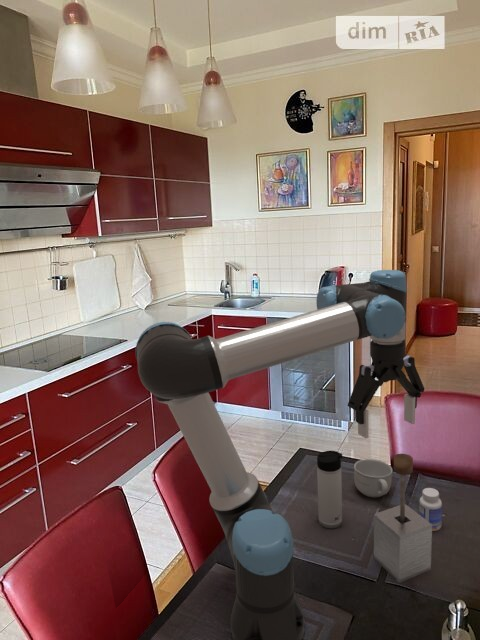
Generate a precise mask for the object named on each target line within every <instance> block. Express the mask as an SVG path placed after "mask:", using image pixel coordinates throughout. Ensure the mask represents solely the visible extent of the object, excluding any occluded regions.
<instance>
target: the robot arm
mask: <svg viewBox="0 0 480 640" xmlns="http://www.w3.org/2000/svg"><path fill="white" fill-rule="evenodd" d="M407 289H408V288H407V275H406V273H405V272H403V271H402V270H398V269H380V270H374V271H372V272H370V275H369V279H368V281H366V282H365V281H364V282H360V283H359V282H358V283H345V284H333V285H329V286H323V287H321V288H320V289H319V290H318V292H317V293H316V310H312V311H308V312H305V313H302V314H299V315H294V316H292V317H288V318H285V319H280V320H278V321H274V322H271V323H267V324H264V325H260V326H257V327H254V328H250V329H247V330H244V331H240V332H236V333H233V334H230V335H227V336H224V337H220V338H214V337H213V336H210V335H206V336H203V337H199V338H194V339H193V338H192V336H191V335H190V332H188V331H187V329H185V328H184V327H182V326H181V325H180V324H177V323H175V322H170V321H160V322H156V323H154V324H151V325H150V326H148V327H147V328H145V329H144V330H143V331H142V333H141V334H140V335H139V338H138V340H137V342H136V345H135V350H134V351H135V353H134V354H135V359H136V361H137V373H138V377H139V379H140V382H141V384H142V385H143V387H144V388H145V390H147V391H149V393H151V394H152V395H153V397H154V398H155V399H156V401H157V402H158V403H161V404H165V405H167V406H168V409H169V410H170V412H171V414H172V415H173V418H174V419H175V422H176V424H177V426H178V428H179V429H180V432H181V434H182V436H183V437H184V440H185V441H186V443H187V446H188V448H189V450H190V451H191V453H192V456H193V457H194V459H195V461H196V463H197V465H198V467H199V468H200V471H201V473H202V475H203V477H204V479H205V481H206V482H207V485H208V486H209V489H210V491H211V492H210V495H209V499H208V500H209V504H210V506H211V508H212V510H213V512H214V514H215V516H216V518H217V520H218V522H219V524H220V525H221V528H222V530H223V532H224V536H225V539H226V542H227V545H228V548H229V551H230V555H231V558H232V561H233V564H234V565H233V566H234V572H235V574H234V575H235V586H236V587H235V588H236V596H235V599H234V603H233V607H232V609H231V612H230V613H231V614H230V617H229V618H230V621H229V622H230V632H231V633H232V634H231V637H232V639H233V640H302V639H303V638H304V636H305V635H304V634H305V628H306V627H305V615H304V611H303V608H302V606H301V604H300V602H299V599H298V597H297V594H296V592H295V579H294V578H295V577H294V576H295V573H294V538H293V535H292V529H291V528H290V525H289V523H288V521H287V520H286V519H285V518H284V517H283V516H282V515H280V514H279V513H275V512H274V510H273V508H272V507H271V505H270V503H269V500H268V497H267V495H266V493H265V492H264V490H263V488H262V486H261V483H260V481H259V479H258V478H257V476H256V475H255V474H254V473H253V472H248V471H247V470H246V467H245V466H244V464H243V462H242V459H241V457H240V456H239V454H238V451H237V450H236V447H235V445H234V443H233V441H232V439H231V437H230V434H229V432H228V430H227V428H226V426H225V424H224V422H223V419H222V418H221V415H220V414H219V411H218V409H217V407H216V406H215V404H214V401H213V399H212V396H211V394H210V393H211V392H214V391H216V390H217V391H218V390H220V389H224V388H225V387H226V385H227V384H228V382H229V381H230V380H233V379H236V378H239V377H242V376H245V375H249V374H252V373H256V372H258V371H261V370H262V371H263V370H265V369H268V368H271V367H274V366H275V367H276V366H278V365H280V364H284V363H285V364H286V363H287V362H290V361H294V360H297V359H300V358H303V357H306V356H310V355H313V354H317V353H319V352H322V351H325V350H330V349H331V348H332V349H333V348H336V347H338V346H339V347H340V346H342V345H346V344H348V343H351V342H354V341H358V340H362V339H365V338H368V337H369V338H370V339H371V341H370V342H369V350H370V351H369V355H370V358H371V364H370V365H364V364H360V366H359V370H358V371H359V372H358V376H357V378H356V382H355V384H354V387H353V390H352V391H351V395H350V398H349V400H348V403H347V406H348V408H350V409H352V410H354V411H355V423H357V434H358V435H359V436H361V437H363V438H364V439H369V410H368V409H367V408H368V406H369V405H370V402H371V401H372V399H373V397H374V396H375V394H376V392H377V391H378V390H379V388H380V387H381V386H383V384H384V383H388V382H390V381H396V380H397V382H398V383H399V385H400V386H402V388H403V390H405V392H406V394H404V398H403V399H404V406H403V409H404V411H403V420H404V421H405V422H407V423H409V424H411V425H414V424H416V409H417V406H418V398H421V396H422V393H424V392H425V386H424V384H423V382H422V380H421V377H420V375H419V372H418V369H417V368H416V363H415V361H416V360H415V358H414V357H413V356H410V355H408V354H406V342H405V340H406V331H407V330H406V326H407V325H406V323H407V321H406V320H407V293H408V290H407ZM403 368H404V370H405V372H406V374H407V375H406V374H405V373H404V371H403ZM407 377H408V378H407Z"/></svg>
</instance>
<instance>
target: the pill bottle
mask: <svg viewBox="0 0 480 640" xmlns="http://www.w3.org/2000/svg"><path fill="white" fill-rule="evenodd" d="M421 495H422V496H421V497H420V498H419V503H418V504H419V505H418V506H419V507H418V508H419V510H418V511H419V513H418V514H419V515H420V516H422V517H423V518H424V519H426V520H427V521H428V522H429V523H431V524H432V532H436V531H439V530H440V529H441V528H442V518H443V517H442V515H443V514H442V511H443V509H442V508H443V502H442V500H441V499H440V493H439V491H438V490H437V489H435V488H433V487H425V488H424V489H422V494H421Z"/></svg>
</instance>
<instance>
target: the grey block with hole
mask: <svg viewBox="0 0 480 640" xmlns="http://www.w3.org/2000/svg"><path fill="white" fill-rule="evenodd" d="M397 520H400V504H399V505H396V506H393V507H391V508H388V507H385V508H382V509H379V510H378V512H376V513H373V559H374V560H376V561H377V563H378V564H379V565H380V566H381V567H382V568H383V569H384V570H385V571H386V572H388V574H389V575H390V576H391V577H392V578H394V580H395V581H396V582H397V583H398V584H400V583H404V582H406V581H408V580H411V579H413V578H415V577H417V576H420V575H422V574H425V573H427V572H429V571H431V569H432V567H431V566H432V544H433V543H432V541H433V539H432V535H433V531H432V524H431V523H429V522H428V521H427V520H426V519H424V518H423V517H422V516H420V515H419V513H418V512H417V511H415V510H414V509H413V508H412V507H410V506H409V505H407V504H406V503H405V520H406V521H407V522H406V523H403V524H401V523H400V522H399V521H397Z"/></svg>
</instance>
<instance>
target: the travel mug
mask: <svg viewBox="0 0 480 640" xmlns="http://www.w3.org/2000/svg"><path fill="white" fill-rule="evenodd" d="M341 459H343V453H341V452H339V451H336V450H324V451H322V452H320V453H319V454H318V455H317V457H316V464H317V465H316V472H317V473H316V475H317V476H316V477H317V480H316V482H317V506H318V507H317V508H318V509H317V510H318V511H317V512H318V523H319V524H320V525H321V526H322V527H323V528H326V529H336V528H339V527H340V526H341V525H342V524H343V493H342V491H343V490H342V488H343V487H342V482H343V481H342V460H341Z"/></svg>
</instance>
